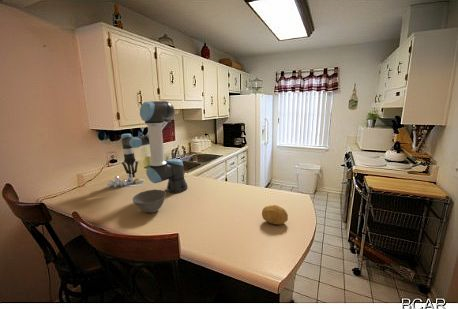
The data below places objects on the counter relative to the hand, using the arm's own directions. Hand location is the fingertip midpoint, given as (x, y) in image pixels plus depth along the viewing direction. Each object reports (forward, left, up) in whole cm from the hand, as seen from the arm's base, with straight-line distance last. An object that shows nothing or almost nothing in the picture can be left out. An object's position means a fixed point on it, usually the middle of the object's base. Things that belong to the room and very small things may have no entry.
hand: (133, 181), depth 177 cm
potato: (-94, +76, -3) cm, 121 cm away
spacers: (+9, 0, -3) cm, 10 cm away
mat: (+6, 0, -3) cm, 6 cm away
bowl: (-26, +51, -3) cm, 57 cm away
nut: (-3, 0, -2) cm, 3 cm away
